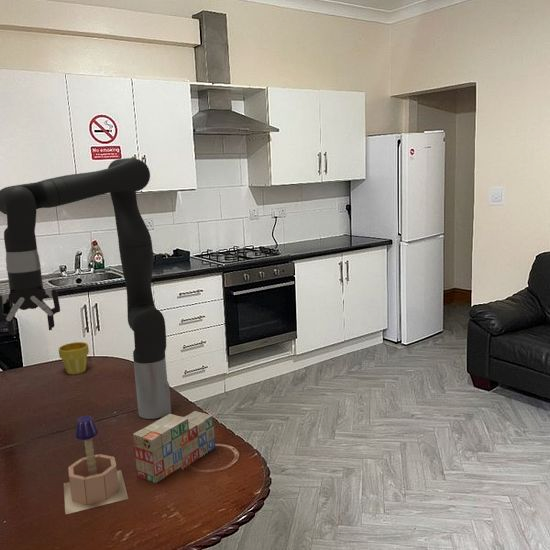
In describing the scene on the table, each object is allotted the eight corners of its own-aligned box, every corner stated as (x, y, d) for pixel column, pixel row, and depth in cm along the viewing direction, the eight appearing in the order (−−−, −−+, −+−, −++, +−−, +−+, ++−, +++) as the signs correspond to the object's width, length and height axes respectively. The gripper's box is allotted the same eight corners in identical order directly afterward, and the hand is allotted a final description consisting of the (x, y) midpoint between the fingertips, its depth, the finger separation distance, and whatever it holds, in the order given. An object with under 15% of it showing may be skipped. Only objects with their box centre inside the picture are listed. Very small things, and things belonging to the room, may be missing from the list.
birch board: (121, 474, 133) (121, 469, 133) (128, 503, 121) (128, 498, 121) (64, 487, 128) (63, 483, 128) (66, 519, 117) (65, 514, 116)
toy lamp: (97, 493, 122) (89, 423, 119) (78, 492, 123) (69, 422, 119) (107, 481, 126) (100, 413, 123) (89, 480, 127) (81, 412, 124)
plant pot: (55, 376, 201) (52, 350, 199) (70, 366, 211) (67, 341, 209) (82, 376, 199) (79, 351, 197) (95, 366, 209) (93, 341, 207)
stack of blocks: (197, 442, 148) (194, 399, 145) (215, 448, 144) (212, 404, 142) (136, 481, 130) (132, 433, 128) (155, 489, 127) (151, 439, 124)
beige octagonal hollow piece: (115, 474, 131) (112, 451, 130) (120, 496, 122) (117, 471, 121) (70, 484, 127) (67, 461, 126) (72, 508, 118) (69, 483, 117)
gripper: (54, 263, 142) (62, 324, 145) (-7, 269, 136) (1, 332, 140) (55, 267, 135) (62, 331, 138) (-10, 274, 130) (-1, 340, 133)
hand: (32, 332), depth 139 cm, fingers open, 8 cm apart
